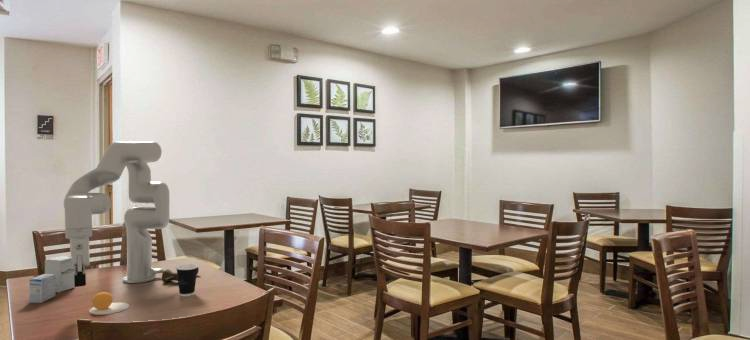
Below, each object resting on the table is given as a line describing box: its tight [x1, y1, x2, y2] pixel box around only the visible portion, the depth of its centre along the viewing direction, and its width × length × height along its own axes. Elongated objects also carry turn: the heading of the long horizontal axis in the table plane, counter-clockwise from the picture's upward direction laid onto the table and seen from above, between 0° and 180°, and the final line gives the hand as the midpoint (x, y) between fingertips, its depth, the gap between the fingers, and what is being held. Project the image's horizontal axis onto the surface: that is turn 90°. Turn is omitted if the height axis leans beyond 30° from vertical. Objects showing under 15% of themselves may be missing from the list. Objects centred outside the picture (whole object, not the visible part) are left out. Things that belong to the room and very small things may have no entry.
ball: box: [91, 291, 113, 310], centre depth 155 cm, size 6×6×6 cm
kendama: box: [161, 266, 200, 283], centre depth 193 cm, size 6×10×20 cm
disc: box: [88, 302, 130, 316], centre depth 156 cm, size 12×12×1 cm
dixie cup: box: [175, 263, 199, 297], centre depth 172 cm, size 8×8×11 cm
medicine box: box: [28, 273, 56, 304], centre depth 164 cm, size 8×4×9 cm, turn 5°
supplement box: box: [44, 255, 76, 293], centre depth 177 cm, size 7×7×13 cm
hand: (80, 285), depth 151 cm, fingers closed
